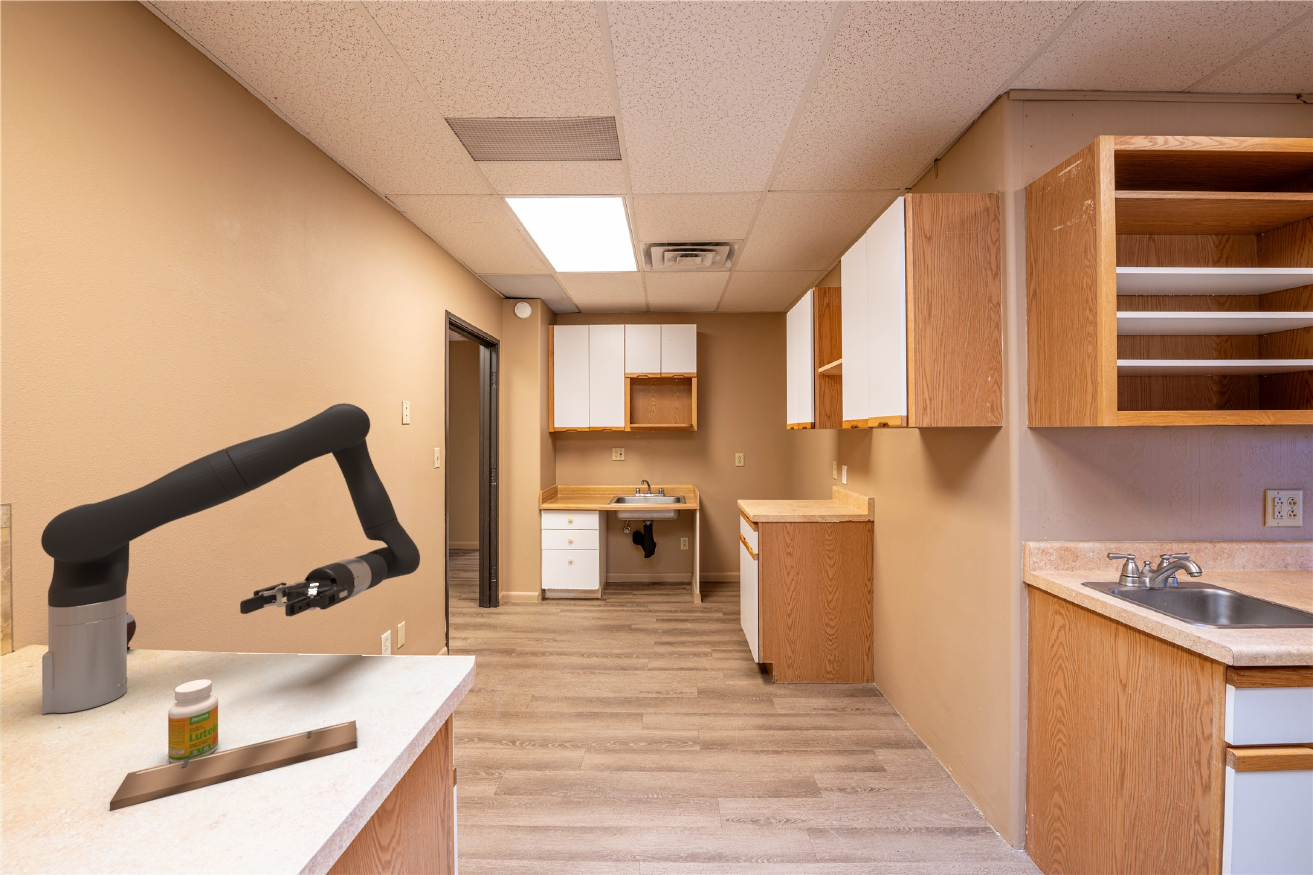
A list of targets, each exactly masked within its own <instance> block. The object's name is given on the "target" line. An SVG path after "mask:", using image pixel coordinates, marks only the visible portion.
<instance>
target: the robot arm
mask: <svg viewBox="0 0 1313 875" xmlns="http://www.w3.org/2000/svg"><path fill="white" fill-rule="evenodd" d="M370 430H371V421H370V417H369V415H368V413H367V412H366V411H365V410H364V409H362V408H361V407H359V406H357V405H356V404H351V403H337V404H333V405H331V406H329V407H328V408H326V409H325V410H323V411H322V412H319V413H317V414H316V415H313V416H312V417H310V418H308V419H306V420H304V421H302V422H300V423H297V424H295V425H293V426H291V427H289V428H285V429H283V430H280V431H277V432H273V433H270V434H269V433H268V434H267V435H261V436H258V437H254V438H251V439H248V440H245V441H242V442H239V443H236V444H233V445H230V446H227V447H225V448H222V449H218V450H217V451H214V452H212V453H209V454H207V455H204V456H202V457H200V458H198V459H195V460H193V461H191V462H188V463H186V464H184V465H182V466H180V467H178V468H176V469H173V471H169V472H168V473H167V474H164V475H162V476H161V477H159V478H157V479H155V480H154V481H151V482H149V483H148V484H146V485H144V486H141V487H138V488H136V489H134V490H131V491H128V492H125V493H123V494H119V495H116V496H113V497H110V498H108V499H105V500H104V499H103V500H101V501H98V502H94V503H92V502H91V503H86V504H85V503H84V504H81V505H78V506H75V507H72V508H69V509H67V510H65V511H63V512H60V513H59V514H57V515H56V516H54V517H53V518H52V519H51V520H50V521H49V522H48V523H47V525H46V526H45V528H44V529H43V531H42V534H41V539H40V543H41V544H40V545H41V547H42V549H43V551H44V552H45V554H46V555H48V556H49V557H51V559H53V571H52V578H51V581H50V585H49V588H48V591H47V626H48V627H47V631H48V632H47V634H48V636H47V637H48V638H47V642H48V643H47V644H48V646H47V648H48V650H47V651H46V652H45V653H44V654H42V657H41V659H42V660H41V669H42V670H41V671H42V673H41V676H42V677H41V678H42V680H41V681H42V682H41V683H42V684H41V685H42V691H41V693H42V694H41V696H42V699H41V700H42V701H41V702H42V705H41V707H42V708H41V709H42V710H41V711H42V715H44V714H51V713H53V714H56V713H57V714H62V713H64V714H65V713H72V712H80V711H83V710H87V709H92V708H96V707H99V706H102V705H105V704H108V703H111V702H112V701H115V700H117V699H119V698H120V697H122V696H124V695H125V694H126V693H127V691H128V665H127V664H128V659H127V658H128V655H127V654H128V650H127V609H128V608H127V607H128V606H127V603H128V602H127V601H128V600H127V585H128V577H129V571H130V542H132V541H133V540H135V539H138V538H139V537H142V536H143V535H145V534H147V533H149V532H151V531H153V530H155V529H157V528H159V527H161V526H164V525H166V524H169V523H171V522H174V521H177V520H180V519H183V518H186V517H189V516H191V515H195V514H198V513H200V512H203V511H205V510H208V509H212V508H214V507H217V506H219V505H221V504H224V503H226V502H229V501H231V500H235V499H236V498H238V497H240V496H243V495H245V494H247V493H250V492H251V491H254V490H257V489H259V488H260V487H262V486H265V485H266V484H269V483H271V482H273V481H275V480H277V479H279V478H280V477H281V476H283V475H285V474H287V473H289V472H291V471H292V470H294V469H295V468H298V467H300V466H302V465H303V464H305V463H308V462H310V461H313V460H315V459H317V458H319V457H323V456H326V455H328V454H332V456H333V458H334V459H335V461H336V464H338V465H337V466H338V467H339V469H340V471H341V474H342V476H343V478H344V480H345V483H346V484H345V485H346V486H347V489H348V492H349V495H350V497H351V501H352V504H353V506H354V509H355V512H356V515H357V517H358V520H359V523H360V525H361V528H362V531H363V533H364V535H365V537H366V538H367V539H368V540H370V541H376V542H377V541H378V542H383V543H384V544H385V545H386V546H384V547H379V548H378V549H377V548H376V549H374V550H371V551H369V552H367V553H364V554H360V555H357V556H355V557H353V558H346V559H342V560H339V561H335V562H332V563H329V564H325V565H323V566H321V567H316V568H314V569H312V570H311V571H310V572H308V574H307V575H306V576H305V578H304V580H300V581H295V582H294V583H291V584H287V582H280V583H277V584H274V585H270V586H267V587H264V588H261V589H256V590H254V591H253V596H252V597H250V598H246V599H243V600H241V601H240V603H239V604H240V605H239V606H240V607H239V610H240V611H239V612H240V614H241V615H248V614H251V613H253V612H257V611H258V610H262V609H265V608H269V607H274V606H276V607H277V608H284V607H285V608H284V610H285V616H286V617H290V618H291V617H293V616H296V615H298V614H301V613H303V612H305V611H314V610H316V609H319V610H324V611H325V610H327V609H330V608H332V607H334V606H336V605H338V604H340V603H342V602H344V601H347V600H350V599H351V598H354V597H356V596H358V595H359V594H362V593H363V592H365V591H367V590H370V589H372V588H374V587H376V586H378V585H379V584H381V583H382V582H383V581H385V580H389V579H394V578H398V577H402V576H407V575H411V574H413V573H415V572H416V571H417V570H418V568H419V566H420V563H421V554H420V550H419V548H418V547H417V544H416V543H415V541H414V540H413V539H412V538H411V536H410V535H409V534H408V533H407V531H406V529H405V528H404V527H403V525H402V524H401V523H400V522H399V518H398V517H397V513H396V510H395V508H394V505H393V503H392V501H391V498H390V495H389V494H388V492H387V490H386V488H385V485H384V483H383V482H382V480H381V478H380V476H379V474H378V472H377V470H376V468H375V466H374V463H373V460H372V459H371V455H370V452H369V448H368V444H367V443H368V442H367V436H368V435H369V432H370ZM284 598H285V599H286V601H283V599H284Z"/></svg>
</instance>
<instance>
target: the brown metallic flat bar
mask: <svg viewBox="0 0 1313 875" xmlns="http://www.w3.org/2000/svg"><path fill="white" fill-rule="evenodd" d="M356 721H357V720H356V719H355V720H351V721H347V722H343V723H342V722H341V723H337V724H333V725H329V726H325V727H321V728H317V729H312V730H308V731H303V732H300V733H294V734H290V735H286V736H281V737H277V738H274V739H269V740H265V741H260V742H256V743H251V744H247V745H243V746H238V747H235V748H230V749H226V750H221V751H217V752H212V753H211V754H208V755H204V756H200V757H195V758H191V759H186V760H182V761H178V762H174V763H171V762H170V763H166V764H162V765H158V766H153V767H148V768H144V769H139V770H136V771H131V772H127V774H126V775H125V777H124V779H122V780H123V781H122V782H121V784H120V785H119V786H118V788H117V790H116V791H115V793H114V795H113V796H112V798H111V800H110V801H109V811H114V810H117V809H121V808H122V809H123V808H125V807H130V806H133V805H136V804H140V803H145V802H149V801H152V800H156V799H157V800H158V799H161V798H164V797H167V796H168V797H169V796H172V795H173V796H174V795H176V794H180V793H184V792H188V791H192V790H196V789H200V788H203V787H208V786H211V785H216V784H219V783H223V782H227V781H231V780H235V779H240V778H243V777H247V776H251V775H254V774H258V773H262V772H266V771H270V770H274V769H275V770H276V769H278V768H283V767H286V766H290V765H294V764H298V763H301V762H305V761H309V760H313V759H317V758H322V757H325V756H328V755H329V756H330V755H333V754H337V753H341V752H345V751H348V750H352V749H355V748H357V747H358V742H357V741H358V739H357V738H358V736H357V722H356Z"/></svg>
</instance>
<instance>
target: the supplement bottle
mask: <svg viewBox="0 0 1313 875" xmlns="http://www.w3.org/2000/svg"><path fill="white" fill-rule="evenodd" d="M212 685H213V682H212V681H211V680H210V679H205V678H204V679H196V680H191V681H187V682H185V683H182V684H179V686H177V687H175V689H174V700H175V702H174V703H173V704H171V706H170V707H169V709H168V712H167V714H168V715H167V719H168V720H167V721H168V722H167V724H168V726H167V729H168V731H167V732H168V733H167V734H168V735H167V736H168V743H167V744H168V746H167V748H168V749H167V751H168V753H167V756H168V758H167V759H168V761H169V762H170V763H174V762H178V761H182V760H186V759H191V758H195V757H200V756H204V755H208V754H212V753H215V751H216V750H217V748H218V746H219V699H218V697H217V695H215V694H214V693H212V689H213V686H212Z"/></svg>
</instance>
